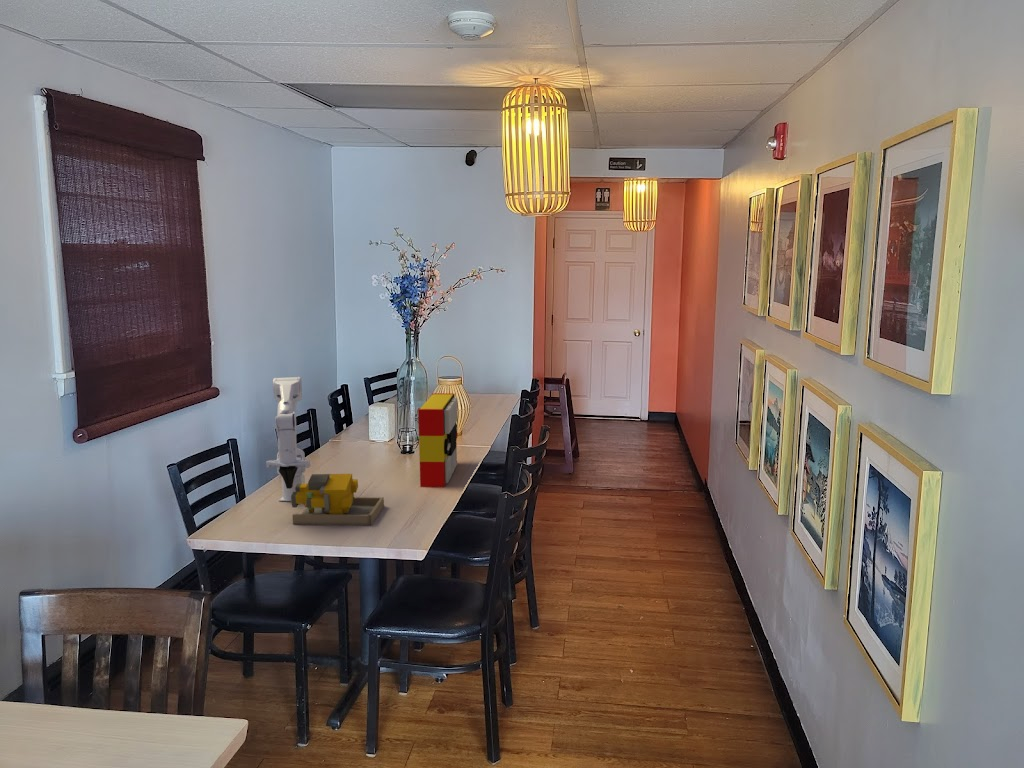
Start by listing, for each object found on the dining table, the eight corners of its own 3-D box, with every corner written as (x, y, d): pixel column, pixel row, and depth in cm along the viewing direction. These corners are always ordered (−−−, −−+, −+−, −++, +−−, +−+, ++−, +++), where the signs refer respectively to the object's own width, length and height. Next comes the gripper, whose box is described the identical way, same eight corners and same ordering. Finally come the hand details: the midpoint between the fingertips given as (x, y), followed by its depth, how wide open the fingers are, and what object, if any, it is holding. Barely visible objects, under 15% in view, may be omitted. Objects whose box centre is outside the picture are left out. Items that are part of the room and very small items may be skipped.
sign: (448, 487, 291) (447, 409, 286) (420, 487, 292) (418, 409, 287) (459, 463, 324) (458, 393, 318) (434, 463, 324) (432, 393, 319)
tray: (311, 505, 272) (310, 496, 271) (384, 506, 270) (383, 497, 270) (292, 524, 253) (292, 514, 252) (371, 525, 251) (370, 515, 251)
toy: (291, 523, 255) (352, 522, 256) (287, 488, 251) (349, 488, 251) (301, 501, 269) (359, 501, 269) (298, 468, 264) (356, 468, 264)
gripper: (261, 451, 255) (264, 491, 257) (304, 451, 254) (306, 491, 257) (269, 446, 262) (271, 484, 264) (311, 446, 261) (313, 485, 263)
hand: (289, 487), depth 261 cm, fingers closed
